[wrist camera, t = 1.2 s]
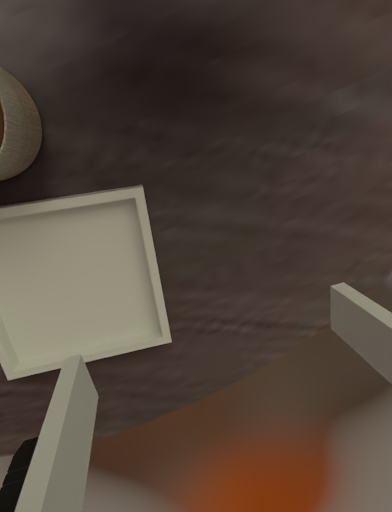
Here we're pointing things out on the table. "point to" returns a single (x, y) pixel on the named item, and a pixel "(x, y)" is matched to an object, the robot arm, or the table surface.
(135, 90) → the table surface
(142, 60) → the table surface
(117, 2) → the table surface
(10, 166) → the planter
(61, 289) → the tray
